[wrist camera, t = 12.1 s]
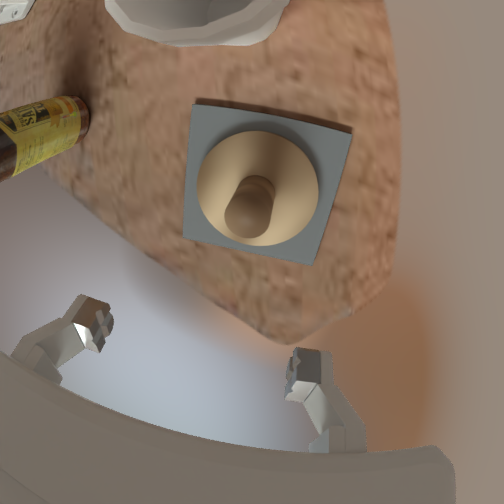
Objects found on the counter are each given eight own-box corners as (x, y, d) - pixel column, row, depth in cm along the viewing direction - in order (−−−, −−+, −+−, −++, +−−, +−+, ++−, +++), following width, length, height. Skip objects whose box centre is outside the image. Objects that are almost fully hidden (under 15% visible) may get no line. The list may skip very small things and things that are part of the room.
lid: (196, 228, 29) (175, 261, 24) (205, 121, 23) (180, 133, 18) (301, 250, 29) (301, 289, 24) (331, 146, 22) (341, 164, 17)
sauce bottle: (95, 94, 22) (-77, 160, 6) (90, 149, 26) (-57, 245, 10) (56, 92, 22) (-93, 151, 6) (52, 141, 26) (-80, 221, 9)
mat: (184, 235, 30) (182, 237, 30) (194, 103, 22) (192, 104, 22) (312, 262, 30) (312, 265, 29) (351, 133, 22) (352, 134, 22)
